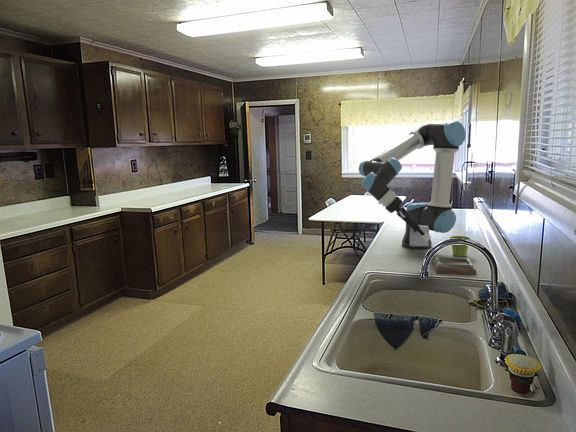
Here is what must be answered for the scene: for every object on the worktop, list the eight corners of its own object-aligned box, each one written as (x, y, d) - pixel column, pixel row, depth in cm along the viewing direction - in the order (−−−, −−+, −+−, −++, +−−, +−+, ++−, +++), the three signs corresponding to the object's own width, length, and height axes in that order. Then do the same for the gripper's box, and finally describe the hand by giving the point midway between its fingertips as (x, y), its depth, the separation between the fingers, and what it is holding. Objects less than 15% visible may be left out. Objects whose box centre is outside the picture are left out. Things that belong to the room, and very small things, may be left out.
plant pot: (445, 255, 208) (446, 238, 206) (455, 251, 214) (456, 234, 212) (463, 259, 201) (464, 241, 199) (473, 255, 206) (474, 238, 205)
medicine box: (427, 244, 191) (428, 225, 189) (428, 246, 186) (429, 227, 185) (409, 243, 192) (409, 225, 191) (410, 246, 188) (410, 227, 186)
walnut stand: (432, 262, 197) (432, 255, 196) (469, 264, 193) (469, 256, 193) (436, 272, 183) (436, 265, 183) (475, 274, 180) (476, 266, 179)
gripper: (384, 203, 198) (420, 238, 197) (384, 211, 181) (423, 249, 181) (396, 192, 195) (432, 227, 195) (397, 198, 179) (437, 237, 178)
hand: (428, 238), depth 188 cm, fingers closed on medicine box, 4 cm apart
